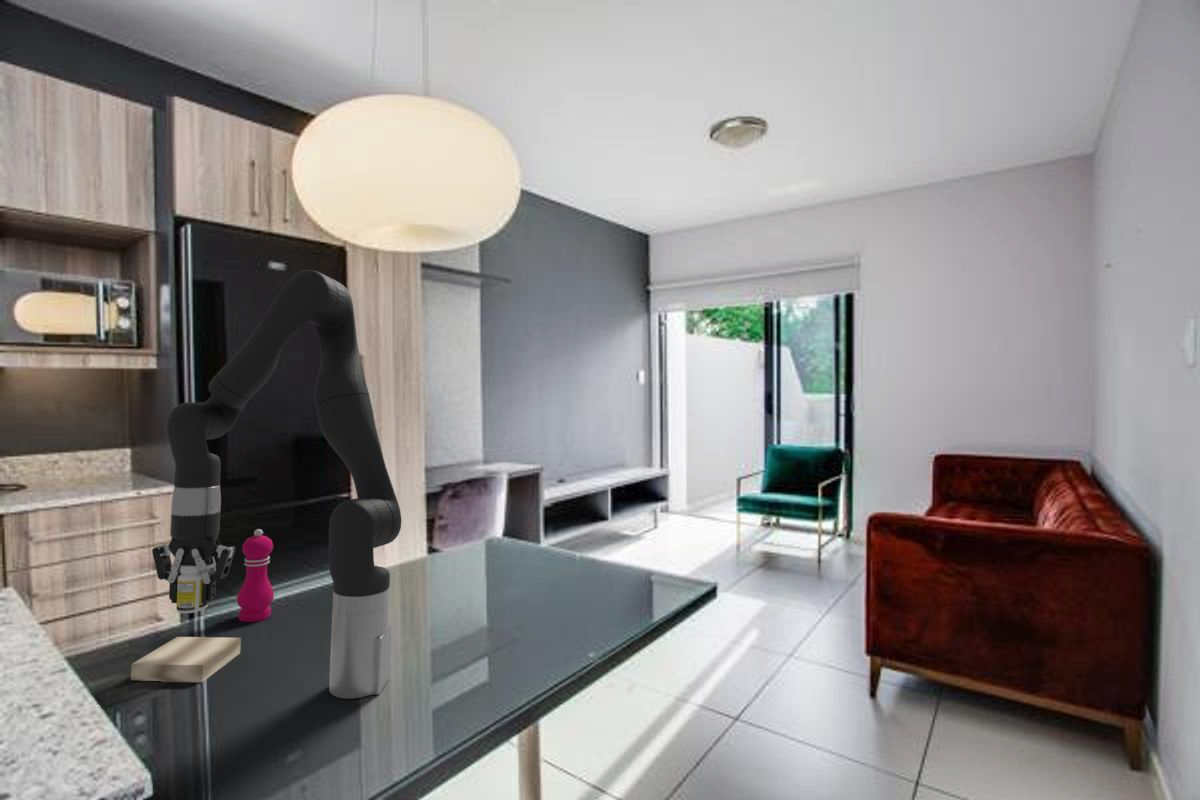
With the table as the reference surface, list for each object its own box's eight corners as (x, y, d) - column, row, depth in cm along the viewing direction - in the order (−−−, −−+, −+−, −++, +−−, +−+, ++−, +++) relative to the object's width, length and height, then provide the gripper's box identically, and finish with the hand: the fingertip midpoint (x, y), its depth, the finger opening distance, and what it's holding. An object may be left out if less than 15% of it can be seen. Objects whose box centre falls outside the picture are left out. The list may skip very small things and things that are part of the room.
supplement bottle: (202, 603, 112) (204, 558, 112) (211, 609, 109) (213, 564, 109) (172, 609, 108) (174, 563, 108) (180, 615, 105) (182, 568, 105)
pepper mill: (267, 609, 138) (271, 524, 138) (277, 618, 133) (280, 530, 133) (232, 616, 133) (236, 528, 133) (240, 625, 128) (244, 534, 128)
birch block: (240, 653, 115) (240, 637, 115) (202, 682, 103) (203, 665, 103) (176, 652, 114) (177, 636, 114) (130, 681, 102) (131, 664, 102)
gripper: (247, 507, 113) (243, 596, 113) (170, 505, 112) (165, 594, 112) (224, 515, 105) (220, 610, 105) (141, 512, 104) (136, 608, 104)
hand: (192, 601), depth 108 cm, fingers closed on supplement bottle, 4 cm apart
